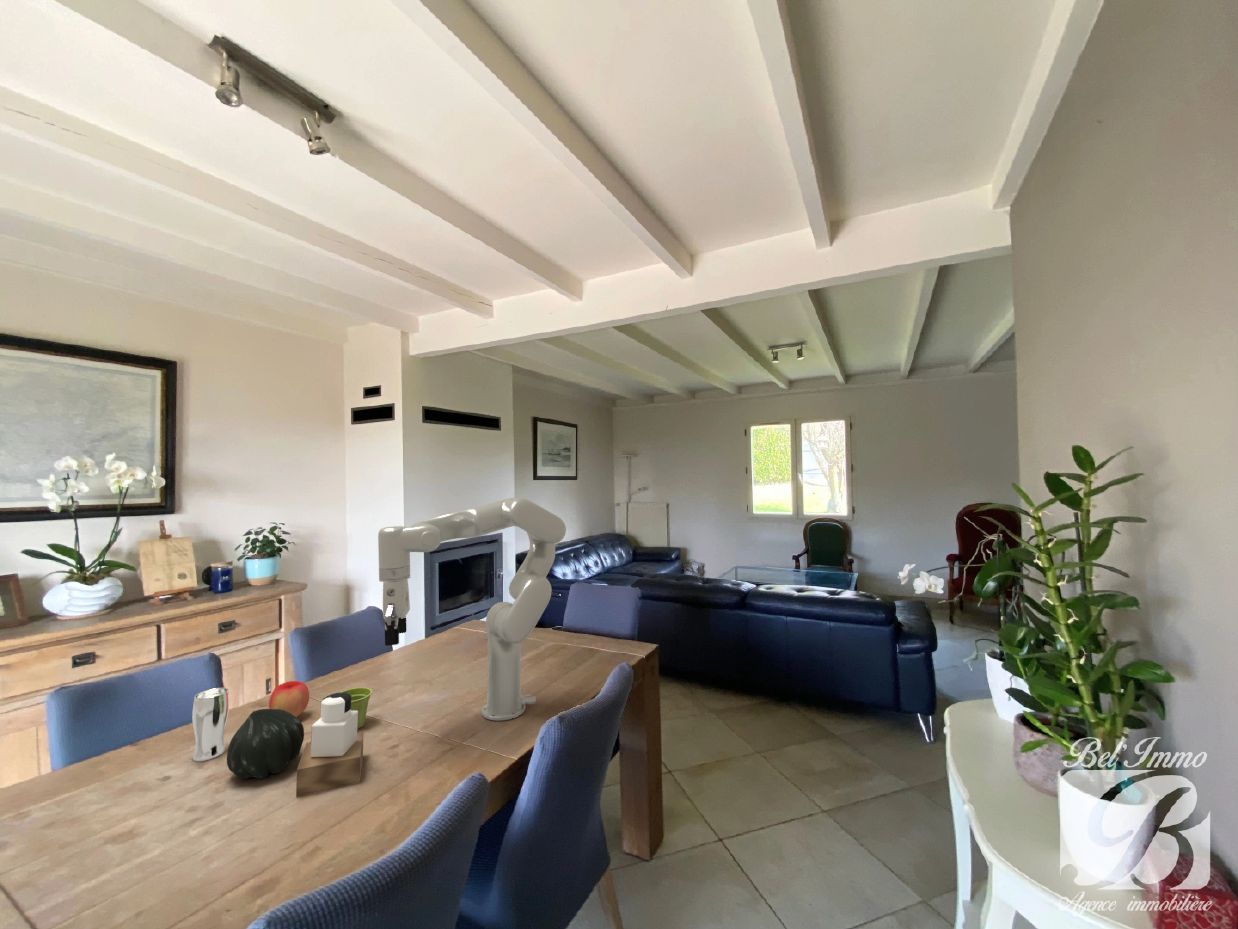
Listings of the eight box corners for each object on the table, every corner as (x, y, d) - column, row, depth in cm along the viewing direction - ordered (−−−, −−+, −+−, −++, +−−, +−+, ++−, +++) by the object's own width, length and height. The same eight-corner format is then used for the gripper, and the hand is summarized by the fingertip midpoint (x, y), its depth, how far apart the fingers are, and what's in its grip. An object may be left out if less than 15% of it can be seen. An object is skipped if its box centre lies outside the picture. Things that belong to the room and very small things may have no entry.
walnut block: (362, 757, 118) (363, 732, 118) (359, 784, 107) (360, 756, 108) (305, 769, 113) (306, 743, 113) (295, 798, 102) (296, 769, 103)
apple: (260, 723, 135) (262, 687, 135) (296, 709, 143) (297, 675, 144) (279, 731, 130) (281, 693, 131) (315, 716, 139) (316, 681, 139)
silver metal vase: (233, 750, 121) (236, 689, 122) (202, 765, 114) (205, 700, 115) (215, 745, 123) (217, 685, 124) (183, 759, 117) (186, 696, 117)
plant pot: (354, 736, 127) (355, 703, 128) (324, 733, 129) (325, 700, 130) (378, 720, 137) (379, 689, 137) (350, 716, 138) (351, 686, 139)
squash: (326, 726, 122) (283, 684, 120) (297, 761, 107) (248, 714, 106) (280, 767, 120) (236, 726, 118) (244, 809, 105) (193, 762, 104)
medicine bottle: (325, 741, 114) (328, 689, 114) (357, 740, 114) (359, 689, 115) (309, 758, 107) (312, 703, 107) (342, 757, 107) (345, 702, 108)
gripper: (403, 578, 119) (405, 648, 119) (415, 566, 136) (417, 627, 135) (370, 581, 117) (372, 651, 117) (387, 569, 134) (388, 630, 134)
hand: (396, 638), depth 126 cm, fingers open, 9 cm apart
